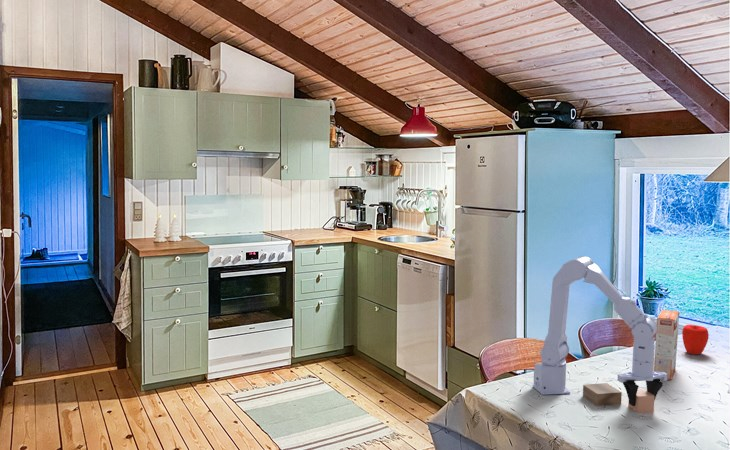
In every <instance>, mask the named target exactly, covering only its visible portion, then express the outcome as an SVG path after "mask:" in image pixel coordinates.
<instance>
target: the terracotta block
mask: <svg viewBox="0 0 730 450" xmlns="http://www.w3.org/2000/svg"><path fill="white" fill-rule="evenodd" d="M627 402H628V404H627V405H628V407H629V408H630V409H631V410H633V411H634V412H635V413H637V414H643V413H654V412H655V400H654V395H653V394H651V393H649V392H648V391H647V389H638V390H637V394H636V404H635V406H632V405H630V404H629V401H627Z"/></svg>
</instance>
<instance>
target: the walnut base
mask: <svg viewBox="0 0 730 450" xmlns="http://www.w3.org/2000/svg"><path fill="white" fill-rule="evenodd" d="M582 387H583V388H582V397H583V398H584V399H586V400H587V401H589V402H590V403H592V404H593V405H594V406H596V407H600V406H602V407H603V406H617V405H622V398H623V397H622V391H620V390H619V389H617V388H615V387H614V386H612V385H610V384H609V383H607V382H602V383H590V384H589V383H587V384H583V385H582Z"/></svg>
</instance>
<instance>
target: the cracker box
mask: <svg viewBox="0 0 730 450" xmlns="http://www.w3.org/2000/svg"><path fill="white" fill-rule="evenodd" d="M679 319H680V312H679V311H677V310H667V309H662V310H661V311H660V312H659V314H658V316H657V317H656V325H657V331H656V333H655V342H654V345H655V350H654V370H653V372H664V373H666V374H667V380H666V381H671V380H672V378H673V376H674V373H675V371H676V363H677V352H678V351H677V350H678V337H679V336H678V335H679V323H680V322H679V321H680V320H679Z"/></svg>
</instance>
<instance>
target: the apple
mask: <svg viewBox="0 0 730 450" xmlns="http://www.w3.org/2000/svg"><path fill="white" fill-rule="evenodd" d="M681 333H682V334H681V335H682V342H683V346H684V349H685V351H686V353H688V354H691V355H695V354H699V355H700V354H703V352H704V350H705V348H706V346H707V344H708V341H709V338H710V337H709V336H710V335H709V331H708V329H707V328H706V327H704V326H701V325H697V324H696V325H695V324H686V325H684V326H683V327H682V330H681Z"/></svg>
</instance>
